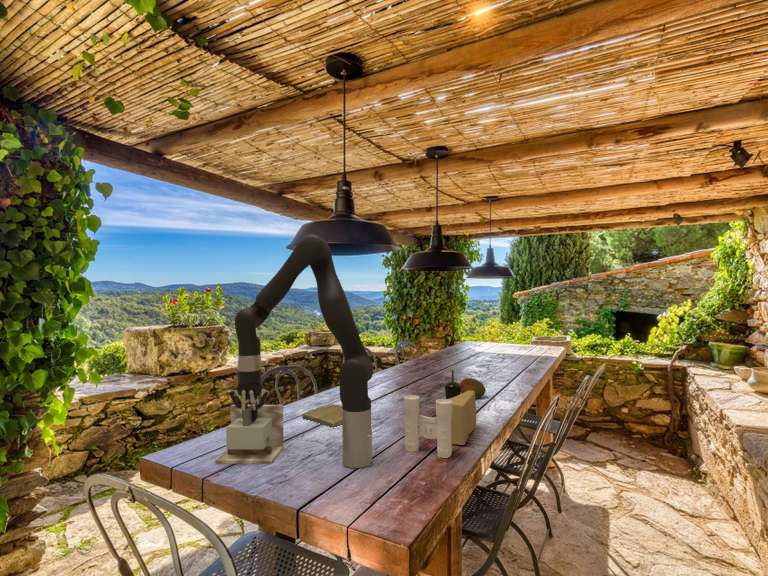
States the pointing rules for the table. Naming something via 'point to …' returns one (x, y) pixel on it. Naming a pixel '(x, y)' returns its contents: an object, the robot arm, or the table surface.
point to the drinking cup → (452, 388)
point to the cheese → (463, 416)
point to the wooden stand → (271, 447)
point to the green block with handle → (248, 432)
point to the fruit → (473, 387)
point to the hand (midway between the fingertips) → (249, 420)
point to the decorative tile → (325, 415)
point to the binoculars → (428, 425)
